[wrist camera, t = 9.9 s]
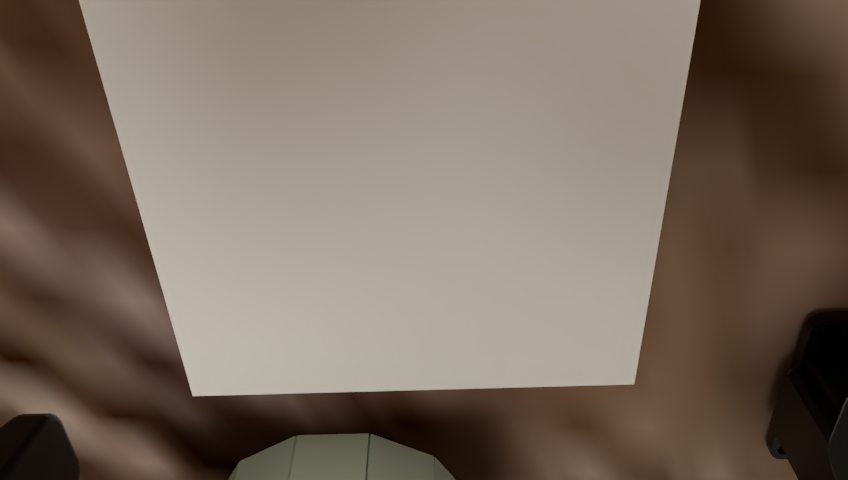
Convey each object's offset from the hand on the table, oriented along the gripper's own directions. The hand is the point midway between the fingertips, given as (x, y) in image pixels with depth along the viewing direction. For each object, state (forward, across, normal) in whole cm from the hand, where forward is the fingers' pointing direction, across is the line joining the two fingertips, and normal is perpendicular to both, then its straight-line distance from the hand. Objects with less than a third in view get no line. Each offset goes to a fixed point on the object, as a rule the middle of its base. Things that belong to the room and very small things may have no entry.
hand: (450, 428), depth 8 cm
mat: (+12, +1, +4) cm, 13 cm away
